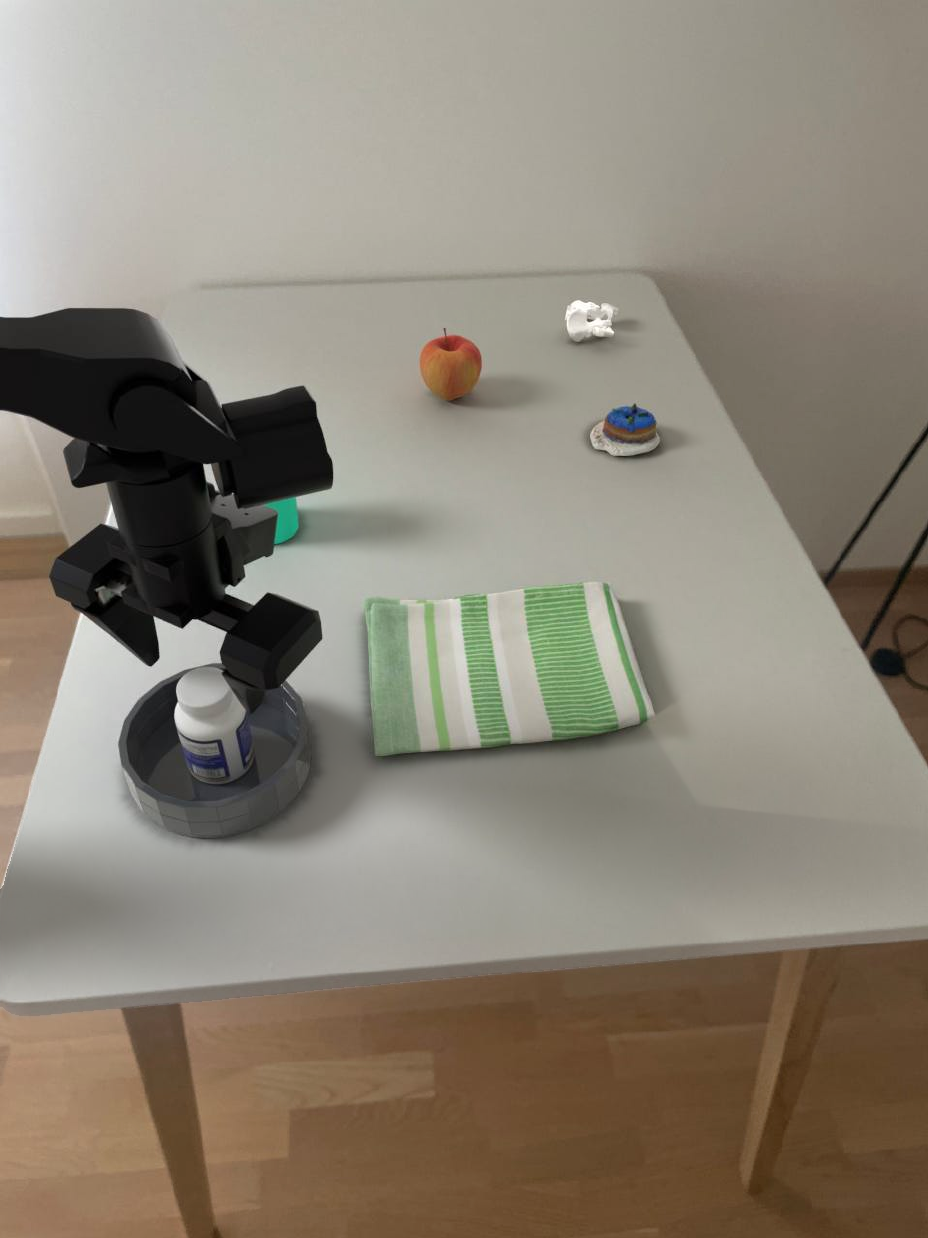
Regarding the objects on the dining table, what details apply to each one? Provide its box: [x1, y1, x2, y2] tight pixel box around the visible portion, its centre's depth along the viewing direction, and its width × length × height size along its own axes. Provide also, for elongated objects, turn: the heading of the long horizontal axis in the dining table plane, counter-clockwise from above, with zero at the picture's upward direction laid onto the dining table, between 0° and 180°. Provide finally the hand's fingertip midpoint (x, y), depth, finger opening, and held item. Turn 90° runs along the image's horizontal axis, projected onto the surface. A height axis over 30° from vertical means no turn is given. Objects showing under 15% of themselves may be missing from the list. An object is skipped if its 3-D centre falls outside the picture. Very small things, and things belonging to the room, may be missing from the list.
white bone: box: [564, 300, 620, 343], centre depth 129 cm, size 8×4×7 cm
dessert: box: [589, 403, 661, 457], centre depth 112 cm, size 8×7×6 cm
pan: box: [117, 662, 313, 839], centre depth 77 cm, size 14×14×4 cm
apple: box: [419, 327, 483, 402], centre depth 115 cm, size 7×7×8 cm
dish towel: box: [363, 581, 656, 757], centre depth 85 cm, size 18×23×3 cm
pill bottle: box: [174, 667, 254, 784], centre depth 75 cm, size 5×5×9 cm
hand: (202, 685), depth 72 cm, fingers open, 9 cm apart
